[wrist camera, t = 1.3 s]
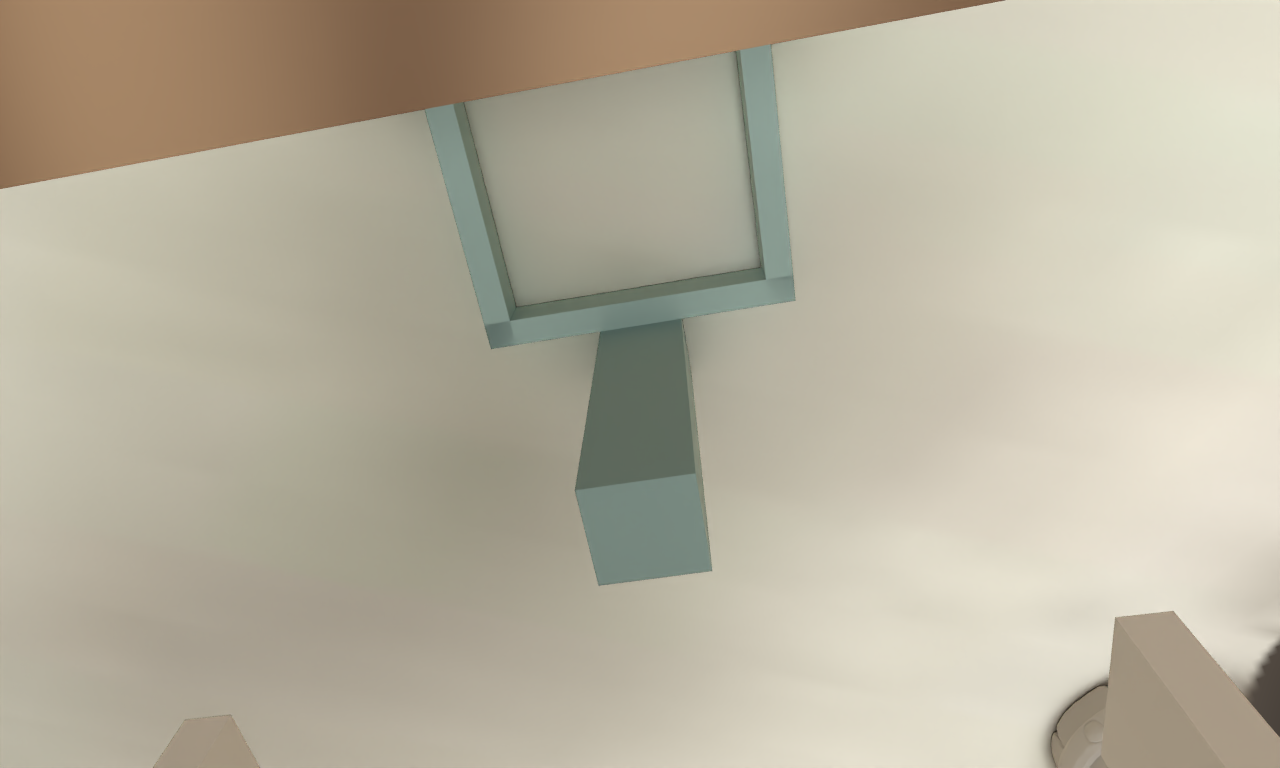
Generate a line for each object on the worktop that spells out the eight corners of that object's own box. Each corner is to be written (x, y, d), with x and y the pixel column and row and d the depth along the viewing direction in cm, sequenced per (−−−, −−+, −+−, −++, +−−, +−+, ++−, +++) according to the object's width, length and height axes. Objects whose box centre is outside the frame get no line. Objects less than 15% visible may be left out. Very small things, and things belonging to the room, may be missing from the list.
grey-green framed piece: (516, 402, 27) (446, 605, 18) (276, -482, 17) (-130, -1007, 8) (796, 360, 26) (873, 549, 17) (701, -591, 17) (760, -1310, 8)
